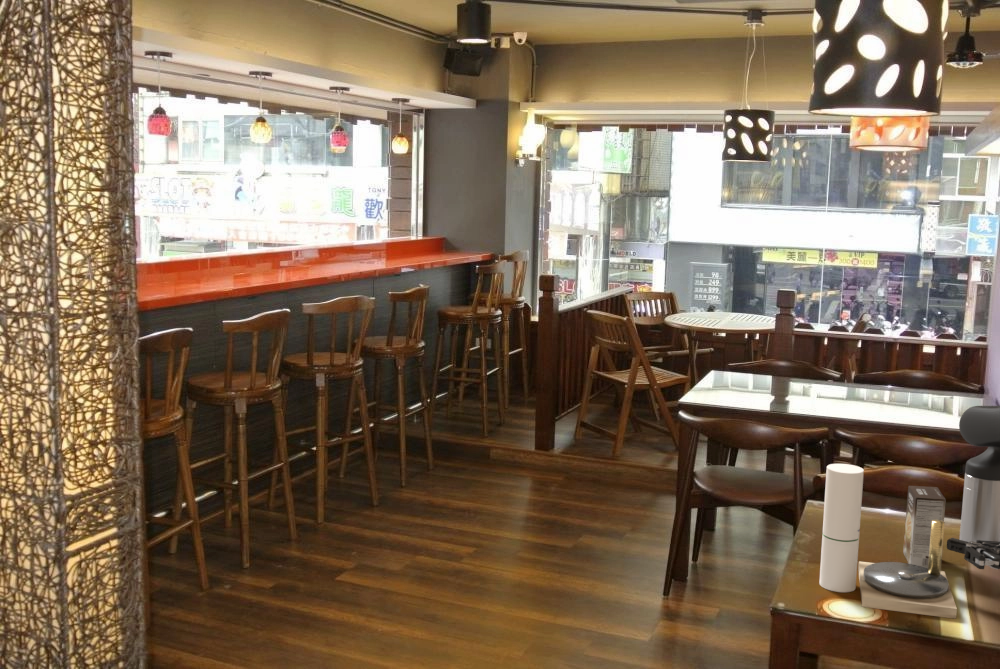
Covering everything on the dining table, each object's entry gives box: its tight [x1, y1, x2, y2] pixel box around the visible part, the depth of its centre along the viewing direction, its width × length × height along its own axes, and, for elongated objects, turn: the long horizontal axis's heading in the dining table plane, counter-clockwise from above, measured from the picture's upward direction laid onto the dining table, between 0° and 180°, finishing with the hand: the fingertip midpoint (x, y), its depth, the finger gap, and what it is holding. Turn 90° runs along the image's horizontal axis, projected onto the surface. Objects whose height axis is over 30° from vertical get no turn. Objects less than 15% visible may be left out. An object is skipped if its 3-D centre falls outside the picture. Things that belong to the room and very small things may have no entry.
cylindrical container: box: [818, 463, 865, 593], centre depth 207 cm, size 7×7×25 cm
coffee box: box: [903, 485, 946, 568], centre depth 221 cm, size 9×6×16 cm
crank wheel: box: [863, 520, 949, 598], centre depth 204 cm, size 16×16×12 cm
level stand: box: [857, 560, 958, 619], centre depth 205 cm, size 20×17×2 cm
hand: (948, 543), depth 204 cm, fingers closed
